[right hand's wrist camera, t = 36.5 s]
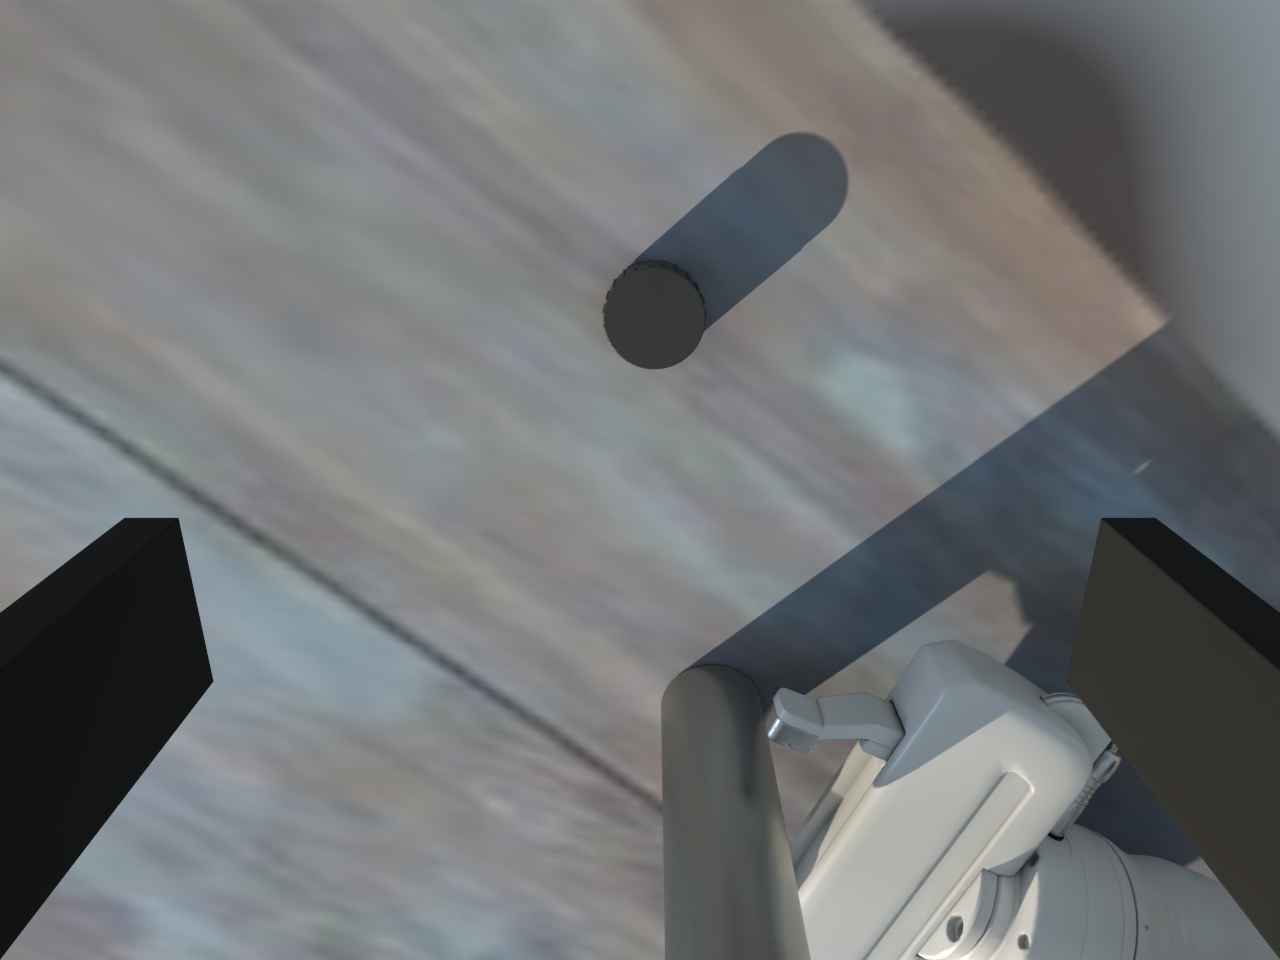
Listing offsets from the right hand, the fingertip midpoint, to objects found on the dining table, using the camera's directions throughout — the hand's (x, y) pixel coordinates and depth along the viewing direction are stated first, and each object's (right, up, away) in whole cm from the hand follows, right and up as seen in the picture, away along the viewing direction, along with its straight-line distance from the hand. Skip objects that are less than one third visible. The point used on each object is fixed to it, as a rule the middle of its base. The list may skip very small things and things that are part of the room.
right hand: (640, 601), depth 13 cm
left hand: (+3, -11, +24) cm, 27 cm away
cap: (+1, +8, +21) cm, 23 cm away
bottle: (+3, -9, +30) cm, 31 cm away
